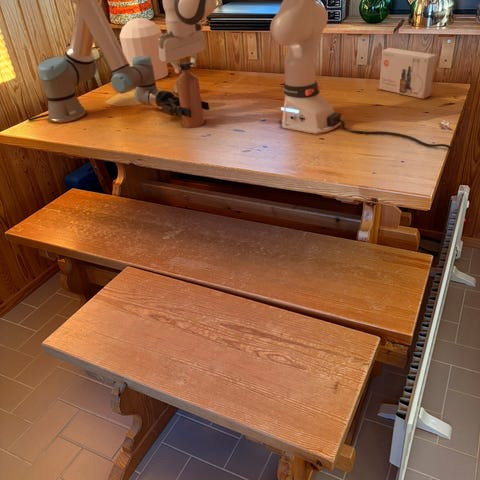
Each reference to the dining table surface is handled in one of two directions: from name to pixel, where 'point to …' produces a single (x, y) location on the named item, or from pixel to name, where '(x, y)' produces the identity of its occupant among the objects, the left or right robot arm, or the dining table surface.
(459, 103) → the dining table surface
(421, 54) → the skincare box
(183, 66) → the cap
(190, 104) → the bottle
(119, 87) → the left robot arm
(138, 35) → the container
